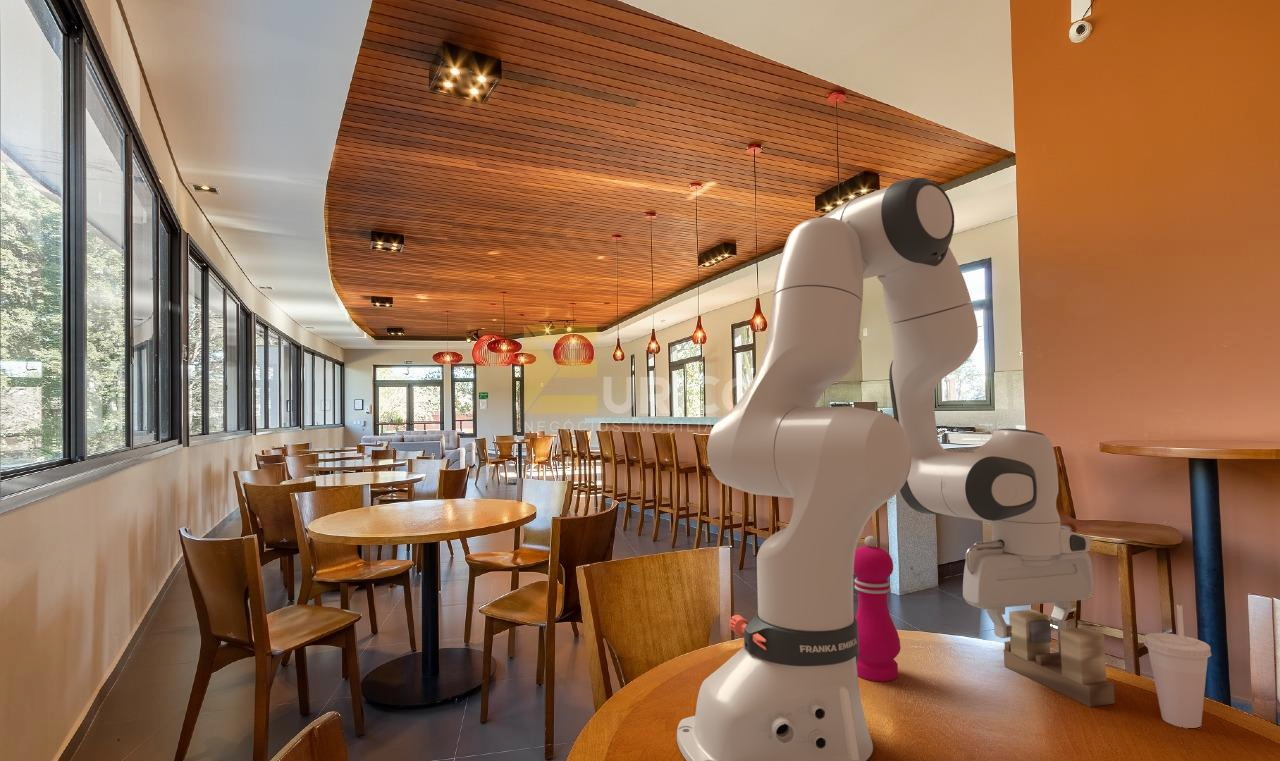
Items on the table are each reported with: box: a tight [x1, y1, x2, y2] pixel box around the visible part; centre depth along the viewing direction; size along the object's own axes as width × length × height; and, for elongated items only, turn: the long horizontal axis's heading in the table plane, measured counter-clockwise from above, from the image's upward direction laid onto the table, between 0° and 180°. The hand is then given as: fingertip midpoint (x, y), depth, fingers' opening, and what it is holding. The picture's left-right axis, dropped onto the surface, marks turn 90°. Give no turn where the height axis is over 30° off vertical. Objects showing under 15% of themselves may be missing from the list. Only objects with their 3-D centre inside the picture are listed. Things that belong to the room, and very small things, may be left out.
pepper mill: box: [853, 535, 902, 682], centre depth 95 cm, size 7×7×20 cm
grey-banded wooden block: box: [1008, 609, 1052, 660], centre depth 94 cm, size 4×4×6 cm
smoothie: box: [1143, 604, 1212, 729], centre depth 79 cm, size 6×6×14 cm
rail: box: [1003, 626, 1116, 708], centre depth 90 cm, size 4×14×8 cm, turn 14°
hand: (1030, 633), depth 94 cm, fingers open, 8 cm apart
